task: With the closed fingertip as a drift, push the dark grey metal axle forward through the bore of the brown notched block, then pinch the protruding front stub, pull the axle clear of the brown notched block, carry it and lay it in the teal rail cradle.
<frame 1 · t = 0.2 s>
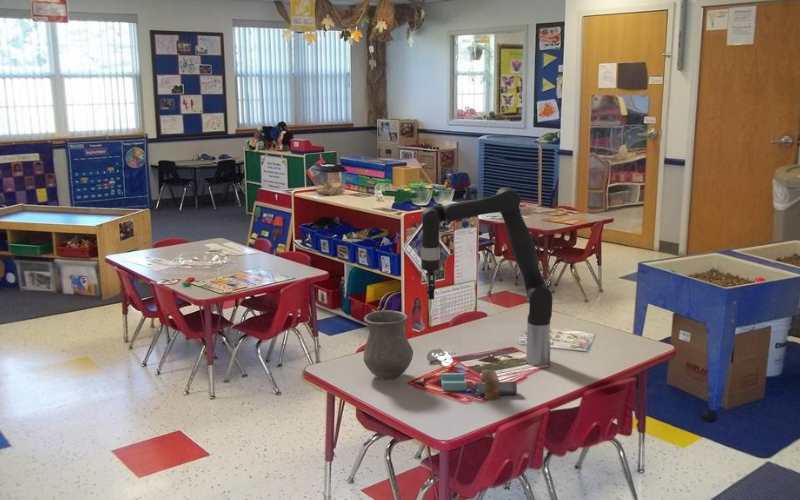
hand: (430, 296, 315), 29 cm above the table, fingers open, 8 cm apart
cradle: (453, 385, 298), on the table
figurine: (441, 364, 322), on the table
brown notched block: (489, 393, 290), on the table
vase: (388, 377, 308), on the table
axle: (496, 394, 290), on the table
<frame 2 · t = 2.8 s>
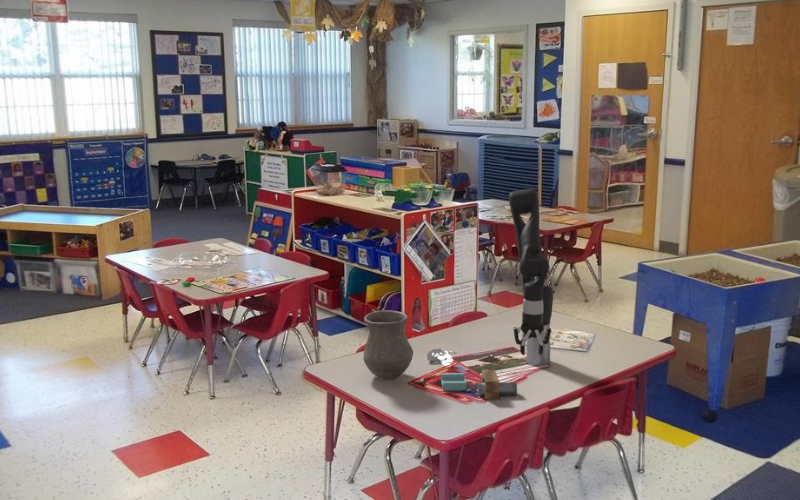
hand: (531, 354, 286), 16 cm above the table, fingers open, 5 cm apart
axle: (496, 394, 290), on the table, tilted 10°
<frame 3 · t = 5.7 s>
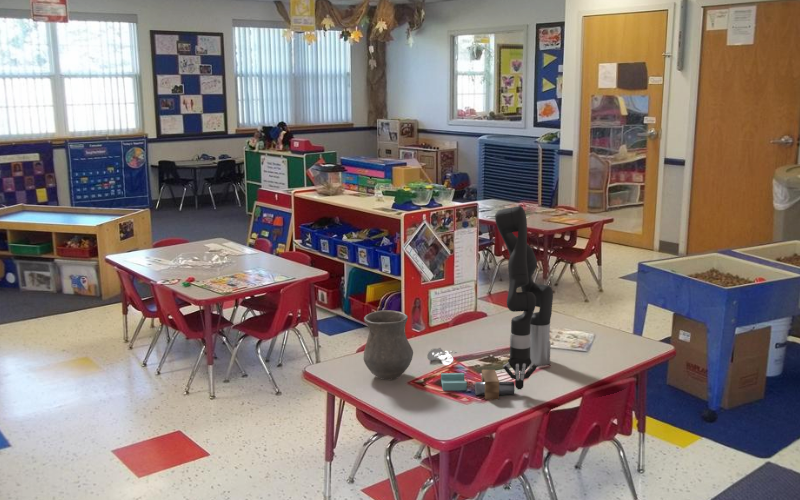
hand: (519, 388, 289), 2 cm above the table, fingers closed
axle: (494, 394, 290), on the table, touching gripper
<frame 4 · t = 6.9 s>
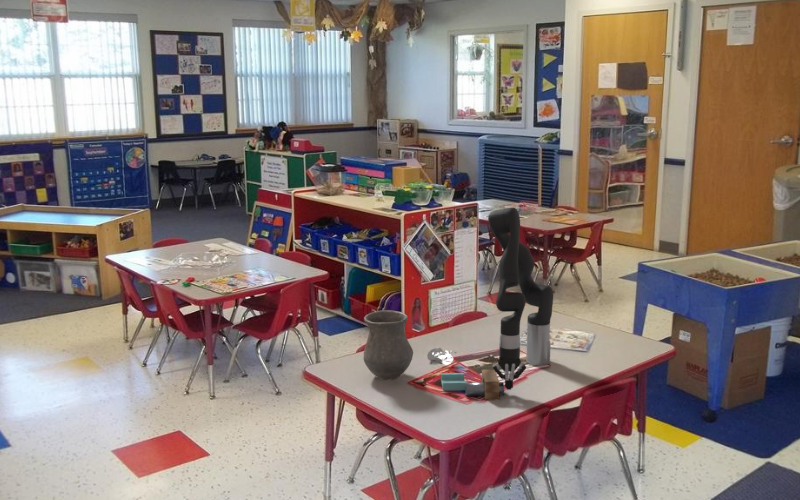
hand: (508, 388, 289), 2 cm above the table, fingers closed
axle: (484, 394, 290), on the table
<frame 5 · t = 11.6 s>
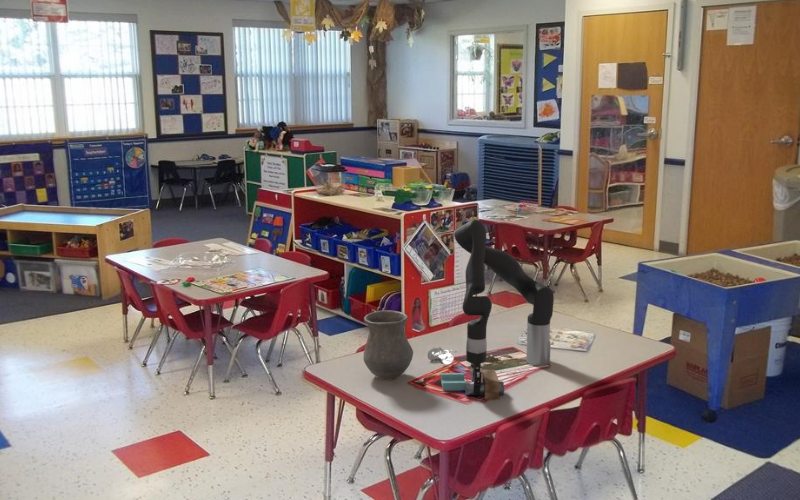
hand: (475, 391, 289), 1 cm above the table, fingers closed on axle, 4 cm apart
axle: (484, 394, 289), on the table, touching gripper
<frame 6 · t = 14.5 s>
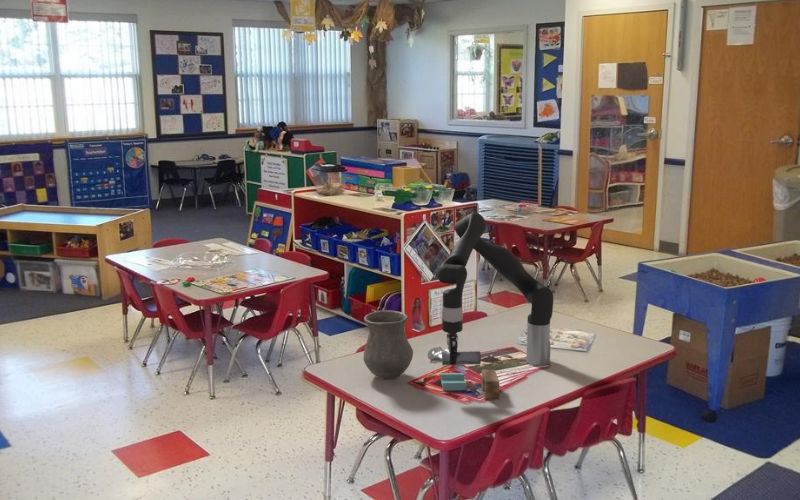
hand: (452, 361, 287), 13 cm above the table, fingers closed on axle, 4 cm apart
axle: (461, 364, 287), point 12 cm above the table, touching gripper
when the fingers open (3 cm above the table, at t = 17.5 s): axle stays where it is, resting on cradle.
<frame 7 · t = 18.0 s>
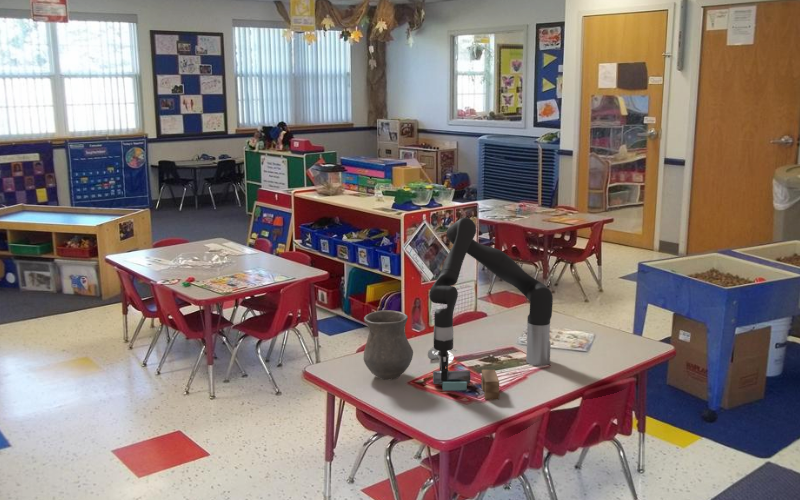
hand: (443, 376, 297), 4 cm above the table, fingers open, 8 cm apart
axle: (451, 382, 298), point 1 cm above the table, touching cradle
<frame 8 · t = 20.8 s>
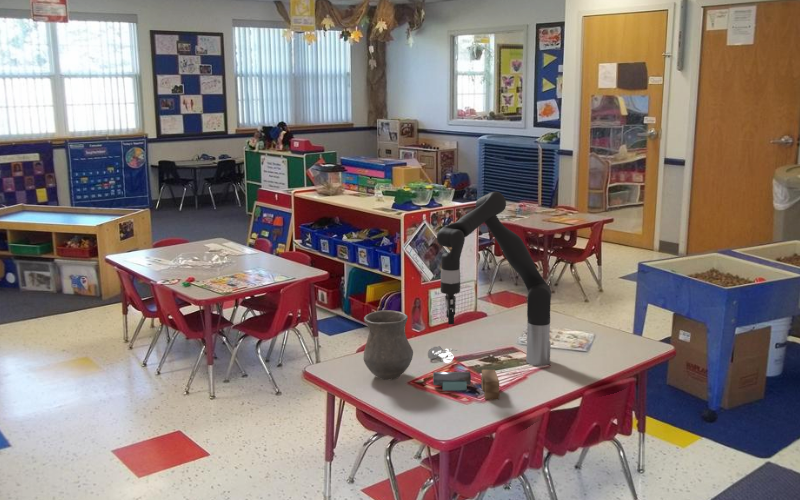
hand: (450, 320, 299), 24 cm above the table, fingers open, 8 cm apart
axle: (451, 382, 298), point 1 cm above the table, tilted 31°, touching cradle
at the end: axle 0.8 cm off-centre on the cradle, point 1.3 cm above the cradle's base; axle touching cradle; the gripper is holding nothing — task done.
